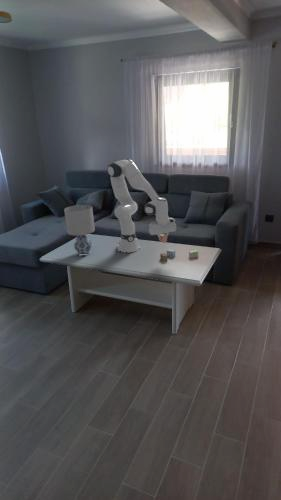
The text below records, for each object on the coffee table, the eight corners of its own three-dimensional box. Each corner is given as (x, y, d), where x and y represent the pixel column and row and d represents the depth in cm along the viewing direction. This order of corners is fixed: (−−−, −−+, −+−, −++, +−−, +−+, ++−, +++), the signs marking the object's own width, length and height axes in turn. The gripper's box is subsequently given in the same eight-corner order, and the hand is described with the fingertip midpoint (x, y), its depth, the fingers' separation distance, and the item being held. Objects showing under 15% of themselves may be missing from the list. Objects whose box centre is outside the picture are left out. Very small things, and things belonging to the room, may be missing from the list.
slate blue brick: (166, 255, 265) (166, 250, 264) (168, 254, 267) (168, 249, 266) (173, 257, 261) (172, 251, 260) (175, 256, 263) (175, 250, 262)
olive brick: (190, 258, 257) (190, 252, 256) (189, 257, 260) (188, 251, 258) (198, 256, 259) (198, 251, 258) (196, 255, 262) (196, 250, 260)
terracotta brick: (159, 240, 255) (159, 234, 253) (163, 239, 255) (163, 233, 254) (163, 242, 249) (162, 236, 248) (166, 241, 250) (166, 236, 249)
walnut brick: (160, 259, 260) (160, 253, 258) (164, 258, 261) (164, 252, 259) (163, 261, 254) (163, 256, 253) (167, 261, 255) (167, 255, 254)
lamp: (93, 258, 269) (88, 210, 256) (67, 259, 271) (60, 211, 259) (99, 249, 289) (94, 204, 276) (74, 249, 292) (68, 205, 279)
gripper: (150, 223, 241) (151, 242, 246) (177, 219, 247) (177, 237, 252) (147, 221, 247) (148, 240, 251) (173, 217, 253) (173, 235, 258)
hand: (163, 238), depth 252 cm, fingers closed on terracotta brick, 3 cm apart
